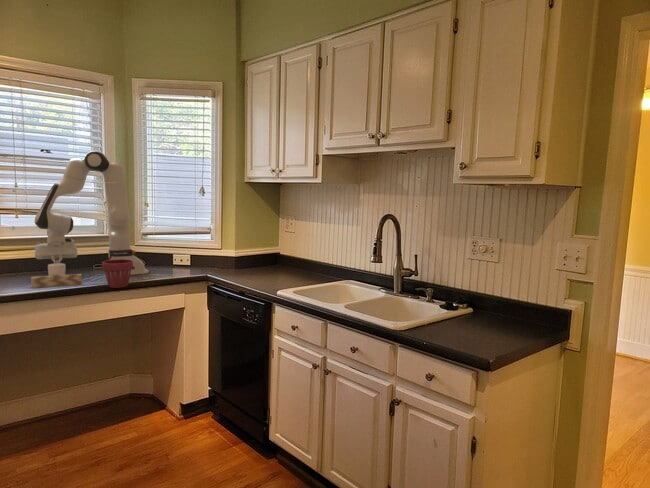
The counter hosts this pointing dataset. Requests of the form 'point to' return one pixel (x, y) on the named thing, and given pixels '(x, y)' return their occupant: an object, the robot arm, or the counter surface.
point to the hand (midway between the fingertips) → (57, 263)
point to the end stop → (56, 280)
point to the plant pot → (117, 272)
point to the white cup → (56, 269)
